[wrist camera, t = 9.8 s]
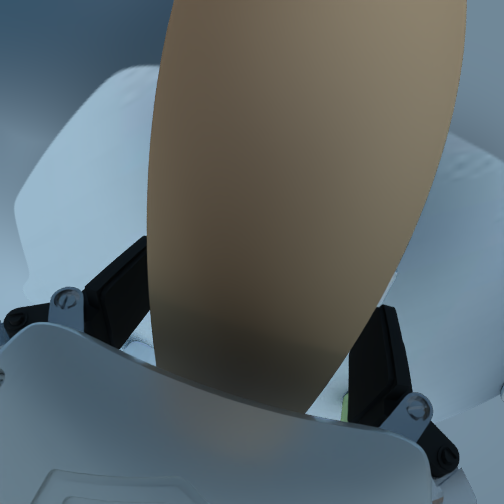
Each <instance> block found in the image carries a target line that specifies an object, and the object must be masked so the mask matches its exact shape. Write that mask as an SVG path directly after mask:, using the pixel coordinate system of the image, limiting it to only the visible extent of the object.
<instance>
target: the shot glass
mask: <svg viewBox="0 0 504 504" xmlns="http://www.w3.org/2000/svg"><path fill="white" fill-rule="evenodd" d="M123 352H125V353H127V354H129V355H131V356H134V357H136V358H138V359H140V360H142V361H145V362H147V363H149V364H151V365H154V366H156V361H155V353H154V349H153V348H152V347H150V346H149V345H147V344H145V343H143V342H139V341H133V342H131V343H130V344H129V345H128V346H127V347H126V348H125V349H124V350H123Z"/></svg>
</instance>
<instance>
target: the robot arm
mask: <svg viewBox="0 0 504 504" xmlns="http://www.w3.org/2000/svg"><path fill="white" fill-rule="evenodd" d="M149 310H150V301H149V286H148V264H147V236H143V237H141V238H140V239H139V240H138V241H136V242H135V243H134V244H133V245H132V246H130V247H129V248H128V249H127V250H126V251H124V252H123V253H122V254H121V255H120V256H119V257H117V258H116V259H115V260H114V261H113V262H112V263H111V264H109V265H108V266H107V267H106V268H105V269H104V270H103V271H101V272H100V273H99V274H98V275H97V276H96V277H95V278H94V279H93V280H91V281H90V282H89V283H88V284H87V285H86V286H85V289H84V290H83V291H82V292H81V290H79V289H78V288H75V287H65V288H61V289H59V290H58V291H56V292H55V293H54V294H53V295H52V297H51V300H50V303H45V304H39V305H33V306H27V307H21V308H16V309H14V310H12V311H10V312H9V313H8V314H7V315H6V317H5V319H4V322H3V323H1V321H0V504H477V500H476V497H475V494H474V492H473V490H472V488H471V486H470V484H469V482H468V480H467V478H466V476H465V474H464V472H463V470H462V468H460V469H458V467H457V466H458V464H459V452H458V449H457V448H456V447H455V445H454V444H453V443H452V442H451V441H450V440H449V439H448V438H447V437H446V436H445V435H444V434H443V433H442V432H441V431H440V430H439V429H438V428H437V427H436V425H434V423H433V422H432V421H431V419H432V416H433V407H432V404H431V402H430V401H429V399H428V398H427V397H426V396H424V395H423V394H421V393H418V392H412V385H411V378H410V372H409V366H408V361H407V356H406V350H405V346H404V343H403V340H402V335H401V331H400V326H399V322H398V318H397V313H396V310H395V308H394V307H391V306H387V305H381V306H380V307H376V308H375V310H374V312H373V314H372V315H371V317H370V319H369V321H368V322H367V324H366V326H365V327H364V329H363V331H362V332H361V334H360V336H359V337H358V339H357V340H356V342H355V344H354V345H353V347H352V348H351V350H350V353H349V388H348V415H347V421H348V422H344V421H338V420H333V419H327V418H322V417H317V416H312V415H307V414H303V413H298V412H294V411H289V410H285V409H281V408H277V407H273V406H270V405H266V404H262V403H259V402H255V401H251V400H248V399H245V398H241V397H238V396H235V395H232V394H228V393H225V392H222V391H219V390H216V389H213V388H210V387H208V386H205V385H202V384H199V383H196V382H194V381H191V380H188V379H186V378H183V377H181V376H178V375H175V374H173V373H170V372H168V371H166V370H163V369H161V368H158V367H156V366H154V365H151V364H149V363H147V362H145V361H142V360H140V359H138V358H136V357H134V356H131V355H129V354H127V353H125V352H123V351H121V350H119V349H120V348H121V347H122V346H123V344H124V343H125V342H126V340H127V339H128V338H129V336H130V335H131V334H132V332H133V331H134V330H135V329H136V327H137V326H138V325H139V323H140V322H141V321H142V319H143V318H144V317H145V316H146V314H147V313H148V312H149ZM500 396H501V399H502V401H503V402H504V385H503V387H502V389H501V393H500Z"/></svg>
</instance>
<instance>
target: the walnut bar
mask: <svg viewBox="0 0 504 504" xmlns="http://www.w3.org/2000/svg"><path fill="white" fill-rule="evenodd" d="M466 3H467V0H174V3H173V7H172V11H171V15H170V20H169V24H168V28H167V33H166V37H165V42H164V47H163V52H162V58H161V63H160V69H159V75H158V81H157V88H156V95H155V103H154V111H153V120H152V130H151V140H150V153H149V168H148V190H147V264H148V286H149V301H150V314H151V325H152V335H153V344H154V353H155V361H156V367H158V368H161V369H163V370H166V371H168V372H170V373H173V374H175V375H178V376H181V377H183V378H186V379H188V380H191V381H194V382H196V383H199V384H202V385H205V386H208V387H210V388H213V389H216V390H219V391H222V392H225V393H228V394H232V395H235V396H238V397H241V398H245V399H248V400H251V401H255V402H259V403H262V404H266V405H270V406H273V407H277V408H281V409H285V410H289V411H294V412H298V413H303V414H305V413H306V412H307V410H308V409H309V408H310V406H311V405H312V404H313V403H314V401H315V400H316V399H317V397H318V396H319V395H320V393H321V392H322V391H323V389H324V388H325V386H326V385H327V384H328V382H329V381H330V379H331V378H332V377H333V375H334V374H335V372H336V371H337V369H338V368H339V366H340V365H341V364H342V362H343V361H344V359H345V358H346V356H347V354H348V353H349V351H350V350H351V348H352V347H353V345H354V344H355V342H356V340H357V339H358V337H359V336H360V334H361V332H362V331H363V329H364V327H365V326H366V324H367V322H368V321H369V319H370V317H371V315H372V314H373V312H374V310H375V308H376V307H377V305H378V303H379V301H380V299H381V298H382V296H383V294H384V292H385V290H386V288H387V286H388V284H389V282H390V280H391V279H392V277H393V275H394V273H395V271H396V269H397V267H398V264H399V262H400V260H401V258H402V256H403V254H404V252H405V250H406V247H407V245H408V243H409V241H410V239H411V236H412V234H413V232H414V229H415V227H416V225H417V222H418V220H419V217H420V215H421V212H422V210H423V207H424V205H425V202H426V200H427V197H428V194H429V191H430V189H431V186H432V183H433V180H434V177H435V174H436V171H437V168H438V165H439V162H440V159H441V155H442V152H443V149H444V145H445V142H446V138H447V134H448V131H449V127H450V123H451V119H452V115H453V110H454V106H455V101H456V96H457V91H458V85H459V80H460V74H461V67H462V60H463V52H464V42H465V30H466V8H467V4H466Z"/></svg>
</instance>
